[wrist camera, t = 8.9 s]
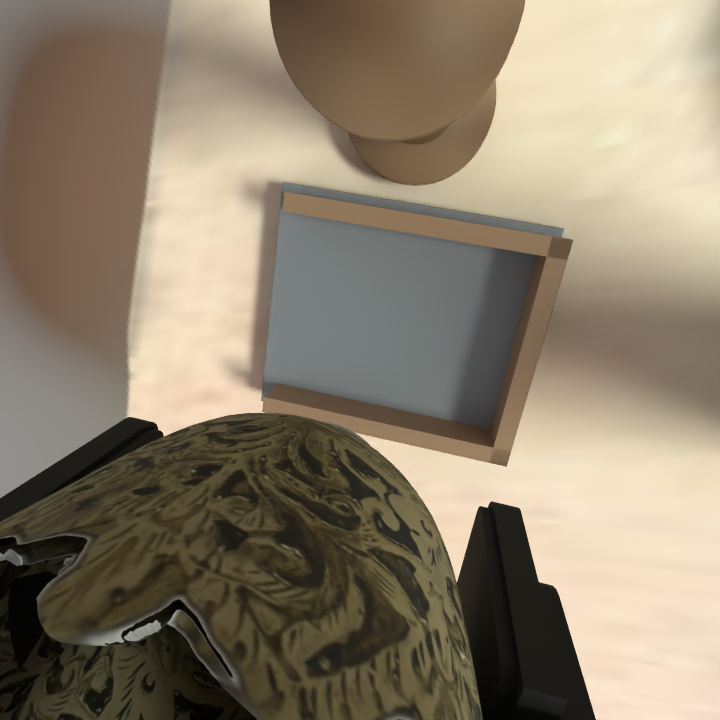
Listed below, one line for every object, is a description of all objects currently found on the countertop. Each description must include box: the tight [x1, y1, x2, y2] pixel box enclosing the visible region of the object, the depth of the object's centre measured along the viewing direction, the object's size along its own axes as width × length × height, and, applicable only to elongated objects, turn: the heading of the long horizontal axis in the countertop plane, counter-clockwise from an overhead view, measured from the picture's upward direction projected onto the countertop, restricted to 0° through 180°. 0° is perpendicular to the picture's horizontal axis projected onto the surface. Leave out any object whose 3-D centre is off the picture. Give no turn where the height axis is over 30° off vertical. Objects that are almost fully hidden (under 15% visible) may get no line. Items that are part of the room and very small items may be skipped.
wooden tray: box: [261, 182, 573, 467], centre depth 28 cm, size 14×16×4 cm
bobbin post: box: [269, 0, 525, 185], centre depth 20 cm, size 8×8×14 cm
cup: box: [0, 413, 483, 720], centre depth 8 cm, size 8×7×8 cm
